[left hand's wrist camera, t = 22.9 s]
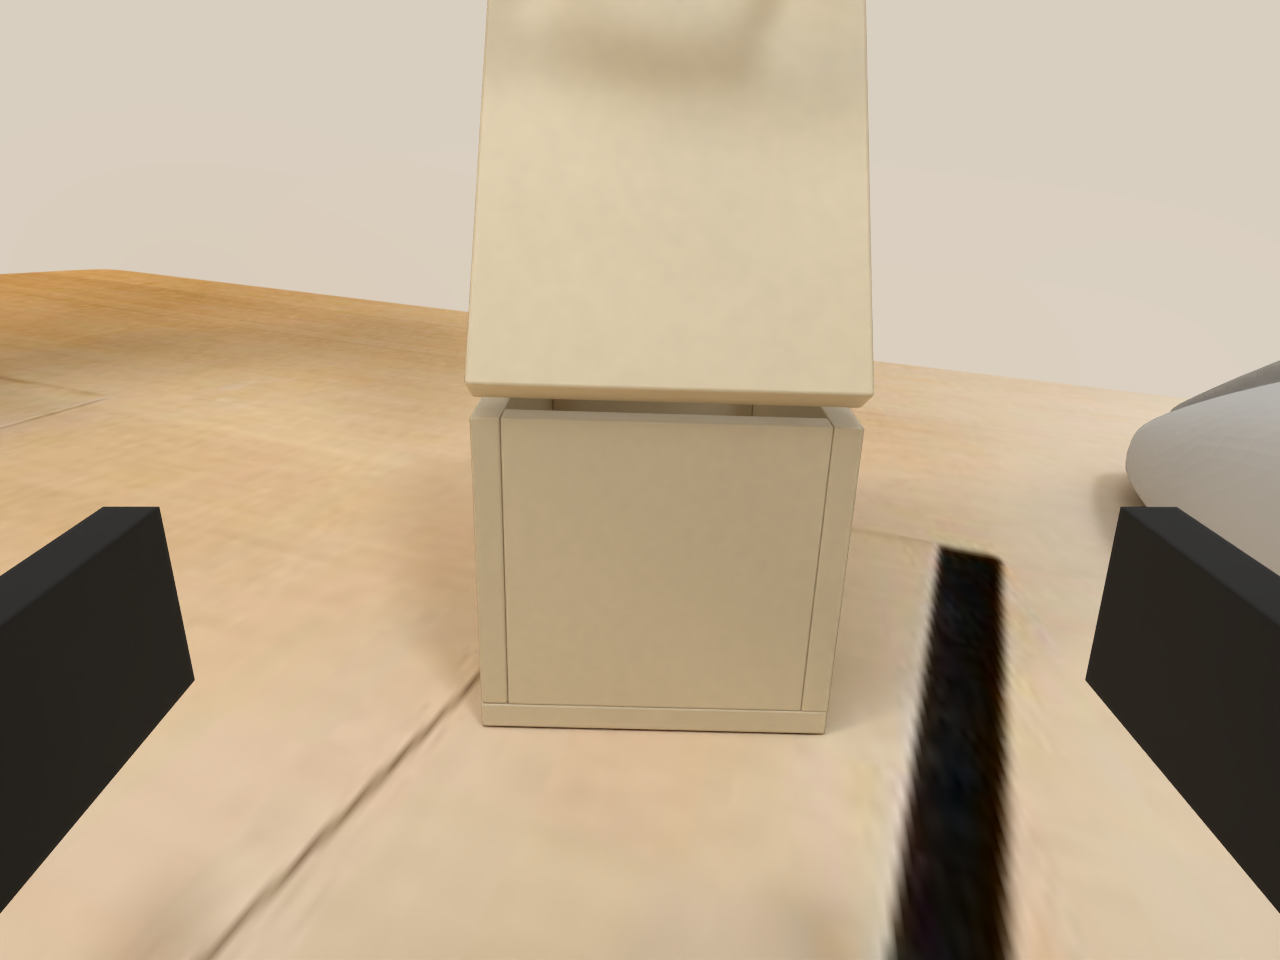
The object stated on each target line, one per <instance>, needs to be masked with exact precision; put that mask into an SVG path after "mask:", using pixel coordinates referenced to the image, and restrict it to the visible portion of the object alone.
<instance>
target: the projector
mask: <svg viewBox="0 0 1280 960" xmlns="http://www.w3.org/2000/svg"><path fill="white" fill-rule="evenodd" d="M1126 472H1127V476H1128V478H1129V480H1130V482H1131V484H1132V486H1133V488H1134V489H1135V491H1136V493H1137V494H1138V496H1139V497H1140V499H1141V500H1142V501H1143V503H1144V504H1145V505H1146V506H1147V507H1178V508H1179V509H1181V510H1182V511H1184V512H1185V513H1187V514H1188V515H1190V516H1191V517H1193V518H1194V519H1196V520H1197V521H1199V522H1200V523H1202V524H1203V525H1205V526H1206V527H1208V528H1209V529H1210V530H1212V531H1213V532H1215V533H1216V534H1218V535H1219V536H1221V537H1222V538H1224V539H1225V540H1227V541H1228V542H1230V543H1231V544H1233V545H1234V546H1236V547H1237V548H1239V549H1240V550H1242V551H1243V552H1245V553H1246V554H1248V555H1249V556H1251V557H1252V558H1254V559H1255V560H1257V561H1258V562H1260V563H1261V564H1263V565H1264V566H1266V567H1267V568H1268V569H1270V570H1271V571H1273V572H1274V573H1276V574H1277V575H1279V576H1280V361H1278V362H1275V363H1272V364H1270V365H1268V366H1265V367H1262V368H1260V369H1257V370H1255V371H1253V372H1250V373H1247V374H1245V375H1243V376H1240V377H1238V378H1235V379H1233V380H1231V381H1228V382H1226V383H1224V384H1222V385H1219V386H1217V387H1215V388H1212V389H1210V390H1208V391H1206V392H1204V393H1202V394H1199V395H1197V396H1195V397H1193V398H1191V399H1189V400H1187V401H1185V402H1183V403H1181V404H1179V405H1177V406H1176V407H1174V408H1173V409H1172V410H1171V412H1170V413H1167V414H1165V415H1162V416H1160V417H1158V418H1156V419H1154V420H1152V421H1150V422H1148V423H1146V424H1145V425H1143V426H1142V427H1141V428H1140V429H1138V430H1137V432H1136V433H1135V434H1134V436H1133V438H1132V440H1131V443H1130V446H1129V448H1128V451H1127V457H1126Z"/></svg>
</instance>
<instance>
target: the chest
mask: <svg viewBox="0 0 1280 960" xmlns="http://www.w3.org/2000/svg"><path fill="white" fill-rule="evenodd" d="M863 435H864V428H863V426H862V425H861V424H860V422H859V421H858V420H857V418H856V417H855V415H854V414H853V413H852V411H851V410H850V409H849V408H848V407H813V406H779V405H744V404H709V403H675V402H640V401H606V400H571V399H537V398H502V397H482V398H481V400H480V401H479V403H478V405H477V407H476V408H475V410H474V412H473V414H472V415H471V417H470V437H471V461H472V485H473V509H474V533H475V557H476V580H477V604H478V628H479V652H480V676H481V699H482V704H481V705H482V724H483V725H489V726H530V727H572V728H614V729H655V730H697V731H739V732H780V733H822V734H823V733H824V732H825V725H826V717H827V710H828V703H829V695H830V688H831V680H832V672H833V665H834V657H835V649H836V642H837V634H838V626H839V619H840V611H841V603H842V596H843V588H844V580H845V573H846V565H847V557H848V550H849V542H850V534H851V527H852V519H853V511H854V504H855V496H856V488H857V481H858V473H859V465H860V458H861V450H862V442H863Z"/></svg>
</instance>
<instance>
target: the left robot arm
mask: <svg viewBox="0 0 1280 960" xmlns="http://www.w3.org/2000/svg"><path fill="white" fill-rule="evenodd" d="M194 680H195V679H194V674H193V669H192V664H191V659H190V655H189V650H188V645H187V640H186V635H185V630H184V625H183V620H182V615H181V611H180V606H179V601H178V596H177V591H176V586H175V581H174V576H173V571H172V567H171V562H170V557H169V552H168V547H167V542H166V537H165V532H164V527H163V523H162V518H161V513H160V508H159V507H102V508H101V509H99V510H98V511H96V512H95V513H93V514H92V515H90V516H89V517H87V518H86V519H84V520H83V521H81V522H80V523H78V524H77V525H75V526H74V527H72V528H71V529H70V530H68V531H67V532H65V533H64V534H62V535H61V536H59V537H58V538H56V539H55V540H53V541H52V542H50V543H49V544H47V545H46V546H44V547H43V548H41V549H40V550H38V551H37V552H35V553H34V554H32V555H31V556H29V557H28V558H26V559H25V560H23V561H22V562H20V563H19V564H17V565H16V566H14V567H13V568H12V569H10V570H9V571H7V572H6V573H4V574H3V575H1V576H0V913H1V912H2V911H3V909H4V908H5V907H6V906H7V905H8V903H9V902H10V901H11V900H12V899H13V897H14V896H15V895H16V894H17V893H18V891H19V890H20V889H21V888H22V887H23V885H24V884H25V883H26V882H27V881H28V879H29V878H30V877H31V876H32V875H33V873H34V872H35V871H36V870H37V869H38V867H39V866H40V865H41V864H42V863H43V861H44V860H45V859H46V858H47V857H48V855H49V854H50V853H51V852H52V851H53V849H54V848H55V847H56V846H57V845H58V843H59V842H60V841H61V840H62V839H63V837H64V836H65V835H66V834H67V833H68V831H69V830H70V829H71V828H72V827H73V825H74V824H75V823H76V822H77V821H78V819H79V818H80V817H81V816H82V815H83V813H84V812H85V811H86V810H87V809H88V807H89V806H90V805H91V804H92V803H93V801H94V800H95V799H96V798H97V797H98V795H99V794H100V793H101V792H102V791H103V789H104V788H105V787H106V786H107V785H108V783H109V782H110V781H111V780H112V779H113V777H114V776H115V775H116V774H117V773H118V771H119V770H120V769H121V768H122V767H123V765H124V764H125V763H126V762H127V761H128V759H129V758H130V757H131V756H132V755H133V753H134V752H135V751H136V750H137V749H138V747H139V746H140V745H141V744H142V743H143V741H144V740H145V739H146V738H147V737H148V735H149V734H150V733H151V732H152V731H153V729H154V728H155V727H156V726H157V725H158V723H159V722H160V721H161V720H162V719H163V717H164V716H165V715H166V714H167V713H168V711H169V710H170V709H171V708H172V707H173V705H174V704H175V703H176V702H177V701H178V699H179V698H180V697H181V696H182V695H183V693H184V692H185V691H186V690H187V689H188V687H189V686H190V685H191V684H192V683H193V681H194ZM1085 680H1086V681H1087V683H1088V684H1089V685H1090V686H1091V687H1092V689H1093V690H1094V691H1095V692H1096V693H1097V695H1098V696H1099V697H1100V698H1101V699H1102V701H1103V702H1104V703H1105V704H1106V705H1107V707H1108V708H1109V709H1110V710H1111V711H1112V713H1113V714H1114V715H1115V716H1116V717H1117V719H1118V720H1119V721H1120V722H1121V723H1122V725H1123V726H1124V727H1125V728H1126V729H1127V731H1128V732H1129V733H1130V734H1131V735H1132V737H1133V738H1134V739H1135V740H1136V741H1137V743H1138V744H1139V745H1140V746H1141V747H1142V749H1143V750H1144V751H1145V752H1146V753H1147V755H1148V756H1149V757H1150V758H1151V759H1152V761H1153V762H1154V763H1155V764H1156V765H1157V767H1158V768H1159V769H1160V770H1161V771H1162V773H1163V774H1164V775H1165V776H1166V777H1167V779H1168V780H1169V781H1170V782H1171V783H1172V785H1173V786H1174V787H1175V788H1176V789H1177V791H1178V792H1179V793H1180V794H1181V795H1182V797H1183V798H1184V799H1185V800H1186V801H1187V803H1188V804H1189V805H1190V806H1191V807H1192V809H1193V810H1194V811H1195V812H1196V813H1197V815H1198V816H1199V817H1200V818H1201V819H1202V821H1203V822H1204V823H1205V824H1206V825H1207V827H1208V828H1209V829H1210V830H1211V831H1212V833H1213V834H1214V835H1215V836H1216V837H1217V839H1218V840H1219V841H1220V842H1221V843H1222V845H1223V846H1224V847H1225V848H1226V849H1227V851H1228V852H1229V853H1230V854H1231V855H1232V857H1233V858H1234V859H1235V860H1236V861H1237V863H1238V864H1239V865H1240V866H1241V867H1242V869H1243V870H1244V871H1245V872H1246V873H1247V875H1248V876H1249V877H1250V878H1251V879H1252V881H1253V882H1254V883H1255V884H1256V885H1257V887H1258V888H1259V889H1260V890H1261V891H1262V893H1263V894H1264V895H1265V896H1266V897H1267V899H1268V900H1269V901H1270V902H1271V903H1272V905H1273V906H1274V907H1275V908H1276V909H1277V911H1278V912H1279V913H1280V576H1279V575H1277V574H1276V573H1274V572H1273V571H1271V570H1270V569H1268V568H1267V567H1266V566H1264V565H1263V564H1261V563H1260V562H1258V561H1257V560H1255V559H1254V558H1252V557H1251V556H1249V555H1248V554H1246V553H1245V552H1243V551H1242V550H1240V549H1239V548H1237V547H1236V546H1234V545H1233V544H1231V543H1230V542H1228V541H1227V540H1225V539H1224V538H1222V537H1221V536H1219V535H1218V534H1216V533H1215V532H1213V531H1212V530H1210V529H1209V528H1208V527H1206V526H1205V525H1203V524H1202V523H1200V522H1199V521H1197V520H1196V519H1194V518H1193V517H1191V516H1190V515H1188V514H1187V513H1185V512H1184V511H1182V510H1181V509H1179V508H1178V507H1121V508H1120V513H1119V518H1118V523H1117V527H1116V532H1115V537H1114V542H1113V547H1112V552H1111V557H1110V562H1109V567H1108V571H1107V576H1106V581H1105V586H1104V591H1103V596H1102V601H1101V606H1100V611H1099V615H1098V620H1097V625H1096V630H1095V635H1094V640H1093V645H1092V650H1091V655H1090V659H1089V664H1088V669H1087V674H1086V679H1085Z"/></svg>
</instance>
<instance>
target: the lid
mask: <svg viewBox="0 0 1280 960" xmlns="http://www.w3.org/2000/svg"><path fill="white" fill-rule="evenodd" d="M867 84H868V83H867V34H866V0H488V2H487V19H486V35H485V51H484V68H483V84H482V101H481V117H480V134H479V150H478V167H477V184H476V200H475V216H474V233H473V249H472V266H471V282H470V299H469V315H468V332H467V348H466V364H465V381H464V382H465V384H466V386H467V388H468V389H469V391H470V392H471V394H472V395H473V396H475V397H502V398H537V399H571V400H606V401H640V402H675V403H709V404H744V405H779V406H813V407H848V408H860V407H862V406H863V405H864V404H865V403H866V402H867V401H868V400H869V399H870V398H871V397H872V396H873V394H874V378H873V330H872V280H871V232H870V182H869V134H868V85H867Z"/></svg>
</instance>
